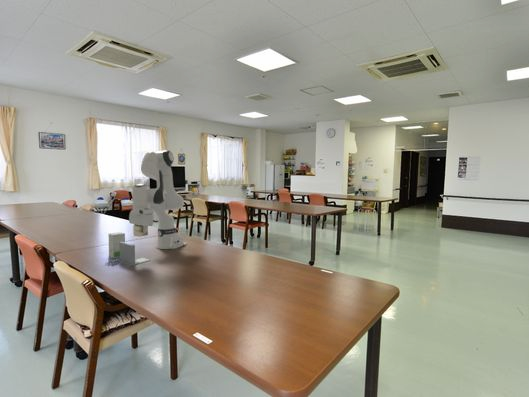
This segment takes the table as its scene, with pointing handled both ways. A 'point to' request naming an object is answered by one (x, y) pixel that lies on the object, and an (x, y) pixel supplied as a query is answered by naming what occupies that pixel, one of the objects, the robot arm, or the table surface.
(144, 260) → the coaster
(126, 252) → the screen
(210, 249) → the table surface
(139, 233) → the letter cube
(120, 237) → the skincare box
